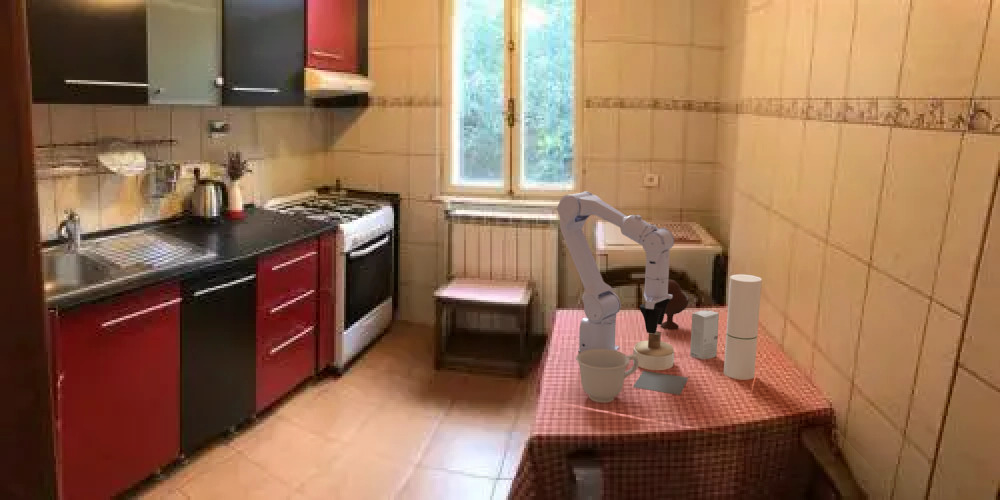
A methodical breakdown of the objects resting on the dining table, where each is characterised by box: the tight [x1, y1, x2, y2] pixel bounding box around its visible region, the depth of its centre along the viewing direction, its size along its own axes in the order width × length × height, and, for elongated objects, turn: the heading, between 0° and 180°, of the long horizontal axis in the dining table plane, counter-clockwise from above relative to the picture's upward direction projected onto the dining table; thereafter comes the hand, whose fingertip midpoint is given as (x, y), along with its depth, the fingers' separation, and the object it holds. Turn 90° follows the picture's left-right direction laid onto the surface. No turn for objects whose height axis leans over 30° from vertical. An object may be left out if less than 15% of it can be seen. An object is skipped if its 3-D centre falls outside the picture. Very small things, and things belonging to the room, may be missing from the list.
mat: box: [632, 370, 689, 396], centre depth 160 cm, size 11×11×1 cm
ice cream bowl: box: [660, 279, 690, 331], centre depth 201 cm, size 11×11×15 cm
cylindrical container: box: [723, 273, 763, 381], centre depth 163 cm, size 7×7×25 cm
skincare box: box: [689, 309, 720, 360], centre depth 177 cm, size 6×4×12 cm
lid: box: [634, 330, 674, 356], centre depth 172 cm, size 10×10×5 cm
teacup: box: [575, 349, 639, 404], centre depth 152 cm, size 12×15×10 cm
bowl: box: [632, 346, 675, 371], centre depth 173 cm, size 10×10×4 cm
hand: (654, 328), depth 171 cm, fingers open, 7 cm apart
